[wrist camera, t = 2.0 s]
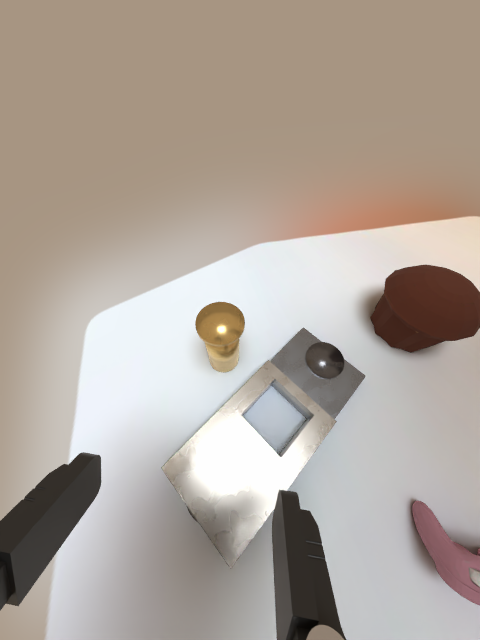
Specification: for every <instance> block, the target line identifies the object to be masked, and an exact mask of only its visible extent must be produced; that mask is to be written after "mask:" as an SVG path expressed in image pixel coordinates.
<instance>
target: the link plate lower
mask: <svg viewBox="0 0 480 640" xmlns="http://www.w3.org/2000/svg"><path fill="white" fill-rule="evenodd" d="M270 362H271V363H272V364H273V365H275V366H276V367H277V368H278V369H279V370H280V371H281V372H282V373H283V374H285V375H286V376H287V377H288V378H289V379H290V380H291V381H292V382H293V383H294V384H296V385H297V386H298V387H299V388H300V389H301V390H302V391H303V392H304V393H306V394H307V395H308V396H309V397H310V398H311V399H312V400H313V401H314V402H316V403H317V404H318V405H319V406H320V407H321V408H322V409H323V410H324V411H326V412H327V413H328V414H329V415H330V416H331V417H332V418H333V419H335V418H336V416H337V415H338V414H339V412H340V411H341V409H342V408H343V407H344V405H345V404H346V403H347V401H348V400H349V398H350V397H351V396H352V394H353V393H354V392H355V390H356V389H357V387H358V386H359V385H360V383H361V382H362V381H363V379H364V378H365V375H364V374H362V373H361V372H360V371H359V370H357V369H356V368H355V367H353V366H352V365H351V364H350V363H348V362H347V361H346V360H344V358H343V356H342V354H341V352H340V351H339V350H338V349H337V348H336V347H335V346H333V345H331V344H329V343H325V342H321V341H320V340H319V339H317V338H316V337H315V336H314V335H312V334H311V333H310V332H308V331H307V330H306V329H305V328H302V329H301V330H300V331H299V332H298V333H297V334H296V335H295V336H294V337H293V338H292V339H291V340H290V341H289V342H288V343H287V344H286V345H285V347H284V348H283V349H282V350H281V351H280V352H279V353H278V354H277V355H276V356H275V357H274V358H273V359H272V360H271V361H270ZM271 385H272V386H273V387H274V388H275V389H276V390H277V391H278V392H279V393H280V394H281V395H282V396H283V397H285V398H286V399H287V400H288V401H289V402H290V403H291V404H292V405H293V406H294V407H295V408H296V409H297V410H298V411H299V412H300V413H301V414H302V415H303V416H305V417H306V418H307V420H306V421H305V422H304V424H303V425H302V426H301V427H300V429H299V430H298V431H297V433H296V434H295V435H294V436H293V438H292V439H291V440H290V441H289V443H288V444H287V445H286V447H285V448H284V449H283V450H282V452H281V453H280V454H279V456H281V455H282V453H283V452H284V451H285V449H286V448H287V447H288V446H289V444H290V443H291V442H292V440H293V439H294V438H295V437H296V435H297V434H298V433H299V431H300V430H301V429H302V428H303V426H304V425H305V424H306V422H307V421H308V420H309V419H310V416H309V415H308V414H307V413H306V412H305V411H304V410H303V409H301V408H300V407H299V406H298V405H297V404H296V403H295V402H294V401H293V400H292V399H291V398H290V397H289V396H288V395H287V394H285V393H284V392H283V391H282V390H281V389H280V388H279V387H278V386H277V385H276V384H275V383H274V382H273V383H272V384H271ZM271 385H270V386H271ZM270 386H269V387H270ZM269 387H268V388H269ZM268 388H267V389H268ZM267 389H266V390H265V391H264V392H263V393H262V394H261V395H260V397H261V396H262V395H263V394H264V393H265V392H266V391H267ZM260 397H259V398H260ZM259 398H258V399H259ZM258 399H257V400H258ZM257 400H256V401H257ZM256 401H255V402H256ZM255 402H254V403H255ZM254 403H253V404H254ZM253 404H252V405H251V406H250V407H249V408H248V409H247V410H246V412H247V411H248V410H249V409H250V408H251V407H252V406H253ZM246 412H245V413H246ZM245 413H244V414H245ZM244 414H243V415H244ZM243 415H242V416H243Z"/></svg>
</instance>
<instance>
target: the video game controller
mask: <svg viewBox="0 0 480 640" xmlns="http://www.w3.org/2000/svg"><path fill="white" fill-rule="evenodd" d="M412 512H413V518H414V521H415V525H416V527H417V530H418V533H419V535H420V537H421V539H422V541H423V543H424V545H425V547H426V548H427V550H428V552H429V554H430V555H431V557H432V559H433V560H434V562H435V564H436V569H437V571H438V573H439V575H440V576H441V577H442V579H443V580H444V581H445V582H446V583H447V584H448V585H449V586H450V587H451V588H452V589H453V590H454V591H456V592H457V593H459V594H460V595H461V596H462V597H464V598H466V599H468V600H469V601H471V602H473V603H475V604H478V605H480V548H478V554H477V555H475V554H472V553H471V552H470V551H468V550H467V549H466V548H465V547H463V546H462V545H460V544H458V543H456V542H454V541H451V539H450V538H449V537H448V535H447V534H446V532H445V531H444V530H443V528H442V526H441V525H440V523H439V522H438V520H437V518H436V517H435V515H434V514H433V512H432V511H431V510H430V509H429V508H428V506H427V505H426V504H425V503H423V502H421V501H415V502H414V503H413V505H412Z"/></svg>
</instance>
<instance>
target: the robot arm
mask: <svg viewBox="0 0 480 640" xmlns="http://www.w3.org/2000/svg"><path fill="white" fill-rule="evenodd" d="M100 486H101V457H100V456H99V455H95V454H89V453H80V454H79V455H78V456H77V457H76V458H75V459H74V460H73V461H72V462H71V463H70V464H69V465H67V464H63V465H62V466H60V467H59V468H57V469H55V470H54V471H52V472H51V473H49V474H48V475H47V476H46V477H45V478H44V479H43V480H42V481H41V482H40V483H39V484H38V485H37V486H36V487H35V489H33V490H32V491H30V492H29V493H28V494H27V495H26V496H25V498H24V500H21V501H20V502H19V503H18V504H17V505H16V506H15V507H14V508H13V509H12V510H11V511H10V512H9V513H8V514H7V515H6V516H5V517H4V518H3V519H2V520H1V521H0V610H1V609H2V607H3V606H4V605H5V604H11V605H15V606H19V604H20V603H21V602H22V600H23V599H24V597H25V596H26V595H27V593H28V592H29V590H30V589H31V588H32V586H33V585H34V583H35V582H36V580H37V579H38V578H39V576H40V575H41V574H42V572H43V571H44V569H45V568H46V566H47V565H48V564H49V562H50V561H51V560H52V558H53V557H54V555H55V554H56V552H57V551H58V550H59V548H60V547H61V545H62V544H63V543H64V541H65V540H66V538H67V537H68V536H69V534H70V533H71V531H72V530H73V529H74V527H75V526H76V524H77V523H78V522H79V520H80V519H81V517H82V516H83V515H84V513H85V512H86V510H87V509H88V508H89V506H90V505H91V503H92V502H93V501H94V499H95V497H96V496H97V494H98V492H99V489H100ZM272 543H273V564H274V586H275V607H276V629H277V640H346V638H345V636H344V634H343V631H342V628H341V625H340V621H339V617H338V613H337V608H336V604H335V599H334V595H333V591H332V586H331V582H330V577H329V573H328V568H327V564H326V561H325V555H324V551H323V546H322V542H321V537H320V533H319V528H318V525H317V523H316V522H315V520H314V518H313V516H312V514H311V512H310V511H307V510H302V509H300V505H299V499H298V494H297V493H296V492H291V491H286V490H280V489H279V491H278V495H277V500H276V505H275V509H274V514H273V521H272Z"/></svg>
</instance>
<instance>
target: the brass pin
mask: <svg viewBox="0 0 480 640" xmlns="http://www.w3.org/2000/svg"><path fill="white" fill-rule="evenodd" d="M195 325H196V330H197V333H198V335H199V337H200V338H201V339H202V340H203V341H204V342H205V344H206V348H207V352H208V356H209V360H210V363H211V365H212V367H213V368H214V369H215V370H217V371H219V372H229V371H231V370H233V369H234V368H235V367H236V365H237V363H238V359H239V338H240V336H241V335H242V333H243V331H244V325H245V320H244V316H243V314H242V312H241V311H240V310H239V309H238V308H237V307H236V306H234V305H232V304H230V303H226V302H216V303H212V304H209V305H207V306H206V307H204V308H203V309H202V310H201V311H200V312H199V314H198V316H197V318H196V324H195Z"/></svg>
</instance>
